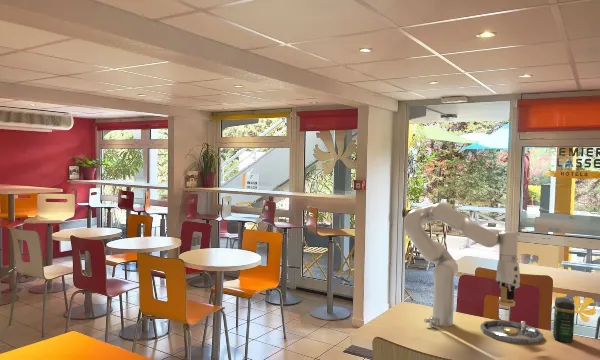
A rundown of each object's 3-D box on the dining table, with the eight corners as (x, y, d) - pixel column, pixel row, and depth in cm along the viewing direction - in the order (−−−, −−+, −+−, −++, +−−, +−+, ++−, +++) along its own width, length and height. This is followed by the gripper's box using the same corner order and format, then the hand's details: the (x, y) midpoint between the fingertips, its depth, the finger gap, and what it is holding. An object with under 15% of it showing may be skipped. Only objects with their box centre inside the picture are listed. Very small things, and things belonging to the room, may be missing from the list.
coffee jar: (574, 344, 207) (576, 303, 207) (554, 341, 210) (556, 300, 210) (570, 337, 216) (572, 297, 216) (551, 334, 219) (553, 295, 219)
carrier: (510, 350, 197) (511, 335, 197) (469, 330, 221) (470, 316, 221) (554, 344, 206) (555, 329, 206) (510, 325, 230) (511, 312, 230)
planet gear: (506, 307, 208) (506, 289, 207) (495, 302, 214) (495, 285, 214) (518, 305, 210) (518, 288, 210) (507, 301, 216) (507, 284, 216)
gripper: (528, 261, 205) (527, 302, 205) (501, 254, 221) (500, 293, 221) (515, 262, 202) (514, 303, 203) (488, 255, 218) (487, 294, 218)
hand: (506, 297), depth 212 cm, fingers closed on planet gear, 3 cm apart
